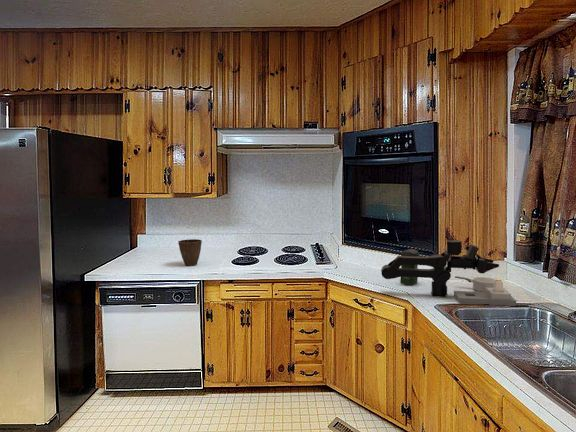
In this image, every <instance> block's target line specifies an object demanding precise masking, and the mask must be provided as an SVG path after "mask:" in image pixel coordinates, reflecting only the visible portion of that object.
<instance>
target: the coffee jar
mask: <svg viewBox="0 0 576 432" xmlns="http://www.w3.org/2000/svg"><path fill="white" fill-rule="evenodd" d="M400 256H413V257H419V251H418V250H417V249H413V248H408V249H406V250H402V251H401V254H400ZM418 266H419V265H401V266H400V268H412V269H419V267H418ZM418 279H419V277H400V279H399V282H400V284H402V285H404V286H414V285H416V284H418V282H419V280H418Z"/></svg>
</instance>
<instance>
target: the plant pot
mask: <svg viewBox="0 0 576 432" xmlns="http://www.w3.org/2000/svg"><path fill="white" fill-rule="evenodd" d="M202 241H203V240H202V239H194V238H191V239H182V240H178V241H177V243H178V247H179V248H178V249H179V252H180V254H181V258H182V261H183V263H184V266H186V267H194V266H197V264H198V261H199V259H200V255H201V252H202V251H201V250H202V249H201V248H202Z"/></svg>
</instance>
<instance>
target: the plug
mask: <svg viewBox="0 0 576 432" xmlns="http://www.w3.org/2000/svg"><path fill="white" fill-rule="evenodd" d="M503 287H504V282H503V280H502V279H496V280H494V292H503Z"/></svg>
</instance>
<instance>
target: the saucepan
mask: <svg viewBox="0 0 576 432" xmlns="http://www.w3.org/2000/svg"><path fill="white" fill-rule="evenodd" d="M454 279H460V280H465V281H467V282H468V283H472V289H474V290H475V292H486V288H494V280H497V279H495V278H493V277H486V276H476V277H473V278H469V277H464V276H463V277H462V276H457V275H455V276H454Z"/></svg>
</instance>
